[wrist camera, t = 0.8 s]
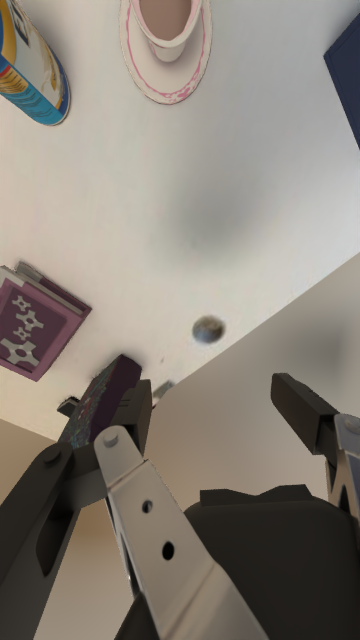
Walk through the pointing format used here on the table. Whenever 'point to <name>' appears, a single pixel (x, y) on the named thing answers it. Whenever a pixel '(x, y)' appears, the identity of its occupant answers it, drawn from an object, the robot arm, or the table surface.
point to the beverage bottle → (30, 68)
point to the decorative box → (100, 402)
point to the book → (35, 321)
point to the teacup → (166, 45)
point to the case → (347, 72)
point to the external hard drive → (68, 407)
